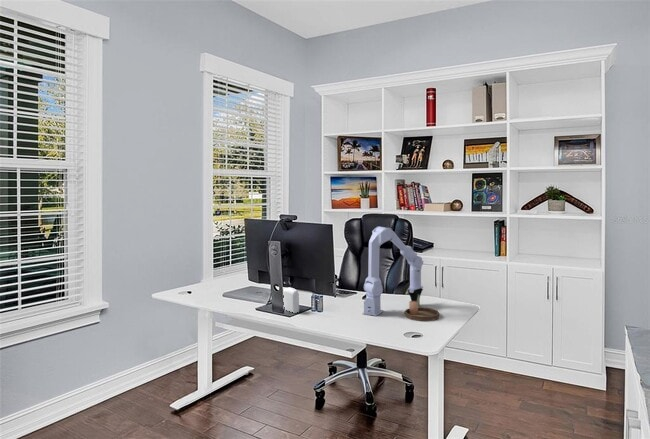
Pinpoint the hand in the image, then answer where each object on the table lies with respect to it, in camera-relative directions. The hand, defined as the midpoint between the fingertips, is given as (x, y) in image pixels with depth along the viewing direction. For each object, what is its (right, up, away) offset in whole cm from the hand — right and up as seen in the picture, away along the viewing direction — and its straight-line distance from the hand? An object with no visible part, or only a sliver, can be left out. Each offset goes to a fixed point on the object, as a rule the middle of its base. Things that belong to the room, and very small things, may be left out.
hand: (415, 303), depth 245 cm
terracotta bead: (-4, -2, -16) cm, 16 cm away
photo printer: (-66, -4, -4) cm, 66 cm away
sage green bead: (0, -2, 0) cm, 2 cm away
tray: (0, -3, -18) cm, 18 cm away
